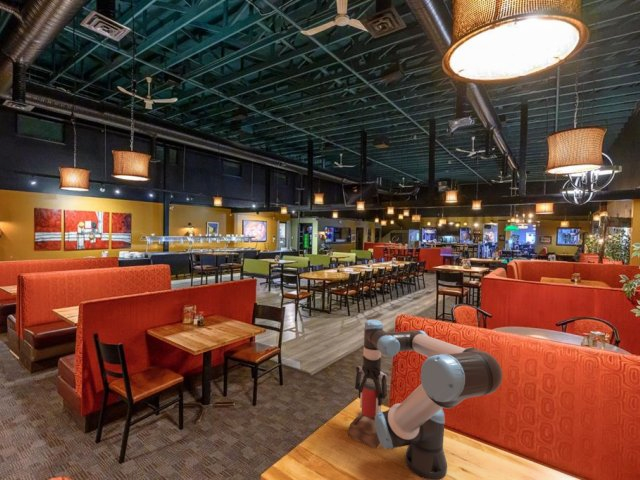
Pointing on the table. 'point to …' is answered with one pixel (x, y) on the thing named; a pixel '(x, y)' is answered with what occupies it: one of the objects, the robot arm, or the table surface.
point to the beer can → (369, 400)
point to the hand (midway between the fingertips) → (369, 409)
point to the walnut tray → (364, 431)
